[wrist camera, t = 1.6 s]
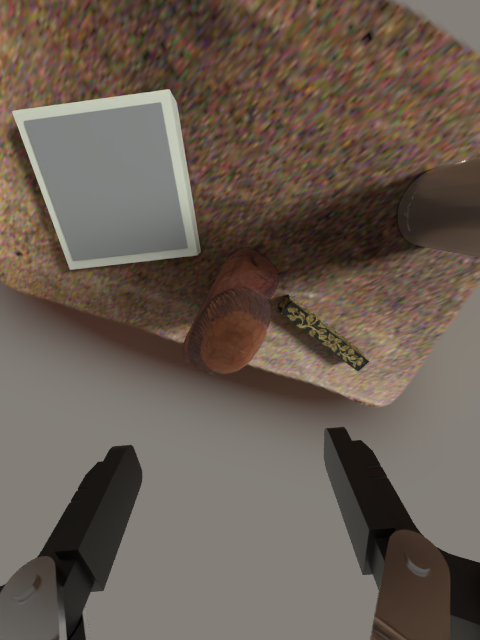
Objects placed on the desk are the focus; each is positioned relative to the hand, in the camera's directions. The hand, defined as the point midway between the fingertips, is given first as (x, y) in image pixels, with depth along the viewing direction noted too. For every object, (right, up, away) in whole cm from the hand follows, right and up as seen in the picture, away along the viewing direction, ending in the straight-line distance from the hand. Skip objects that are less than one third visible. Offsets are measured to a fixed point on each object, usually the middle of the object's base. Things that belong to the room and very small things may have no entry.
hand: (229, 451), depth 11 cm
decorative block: (+13, +4, +28) cm, 31 cm away
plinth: (-14, +21, +21) cm, 32 cm away
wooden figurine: (0, +10, +25) cm, 27 cm away
